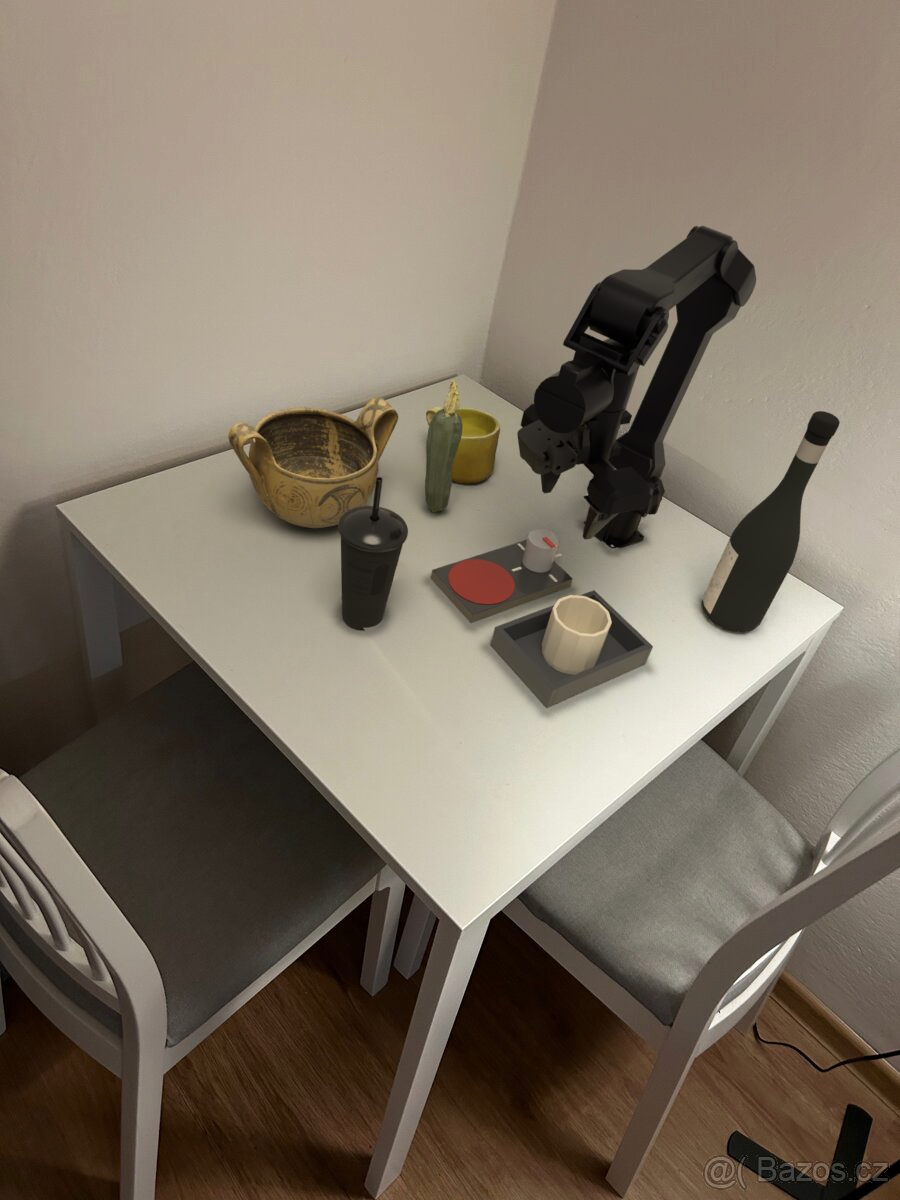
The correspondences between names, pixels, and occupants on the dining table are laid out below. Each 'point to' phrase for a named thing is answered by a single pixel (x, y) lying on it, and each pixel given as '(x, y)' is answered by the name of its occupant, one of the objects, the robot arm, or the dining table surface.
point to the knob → (540, 550)
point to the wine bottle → (765, 541)
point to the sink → (551, 686)
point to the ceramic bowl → (315, 460)
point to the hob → (525, 580)
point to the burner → (481, 581)
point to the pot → (575, 634)
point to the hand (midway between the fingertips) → (566, 514)
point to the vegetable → (442, 450)
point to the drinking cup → (369, 560)
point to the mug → (473, 445)
